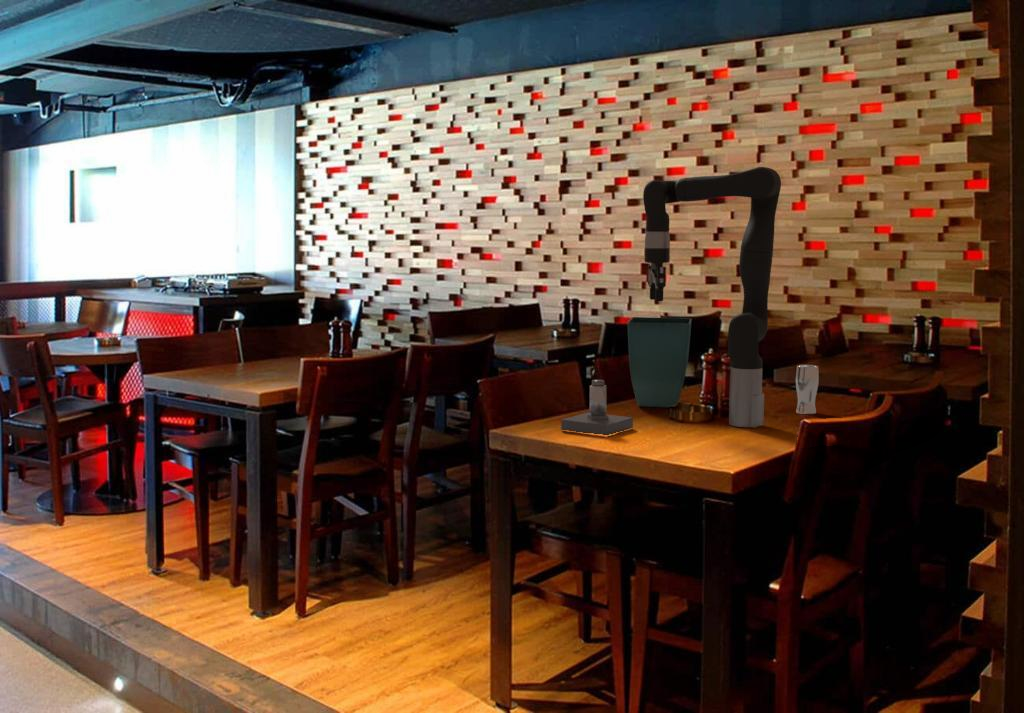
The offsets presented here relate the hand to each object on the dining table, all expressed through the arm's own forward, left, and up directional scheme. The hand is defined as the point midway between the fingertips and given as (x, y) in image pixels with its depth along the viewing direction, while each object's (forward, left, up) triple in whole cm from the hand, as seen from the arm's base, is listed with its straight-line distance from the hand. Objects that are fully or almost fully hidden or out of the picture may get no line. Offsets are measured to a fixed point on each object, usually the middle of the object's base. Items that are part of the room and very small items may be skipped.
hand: (656, 300), depth 311 cm
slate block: (+3, +29, -37) cm, 47 cm away
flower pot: (+10, -22, -36) cm, 44 cm away
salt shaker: (+3, +29, -33) cm, 44 cm away
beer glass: (-35, -36, -36) cm, 62 cm away
